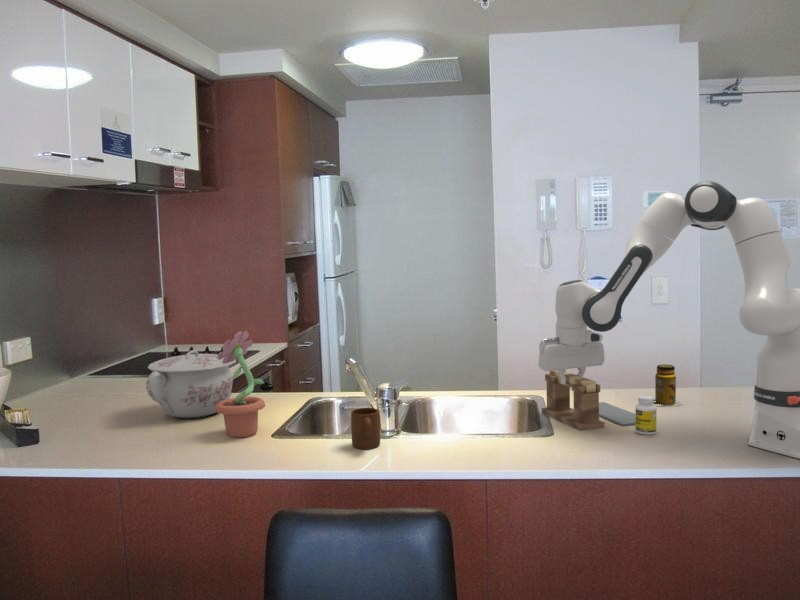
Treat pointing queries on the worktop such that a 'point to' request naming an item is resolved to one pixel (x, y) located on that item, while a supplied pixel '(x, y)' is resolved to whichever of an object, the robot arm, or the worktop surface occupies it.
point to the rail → (576, 381)
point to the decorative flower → (240, 409)
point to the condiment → (665, 386)
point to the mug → (365, 428)
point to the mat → (616, 414)
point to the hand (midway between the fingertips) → (571, 383)
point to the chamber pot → (190, 384)
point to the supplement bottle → (645, 415)
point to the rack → (584, 405)
